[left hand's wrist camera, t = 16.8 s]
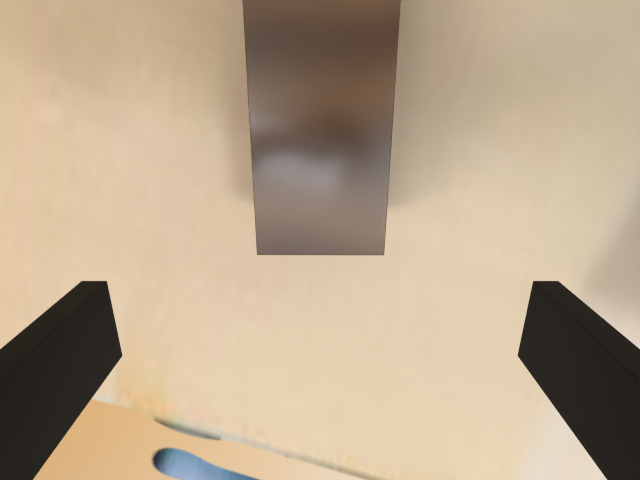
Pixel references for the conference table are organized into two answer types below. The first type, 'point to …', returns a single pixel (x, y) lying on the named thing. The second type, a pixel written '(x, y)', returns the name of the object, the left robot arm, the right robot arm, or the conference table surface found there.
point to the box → (321, 122)
